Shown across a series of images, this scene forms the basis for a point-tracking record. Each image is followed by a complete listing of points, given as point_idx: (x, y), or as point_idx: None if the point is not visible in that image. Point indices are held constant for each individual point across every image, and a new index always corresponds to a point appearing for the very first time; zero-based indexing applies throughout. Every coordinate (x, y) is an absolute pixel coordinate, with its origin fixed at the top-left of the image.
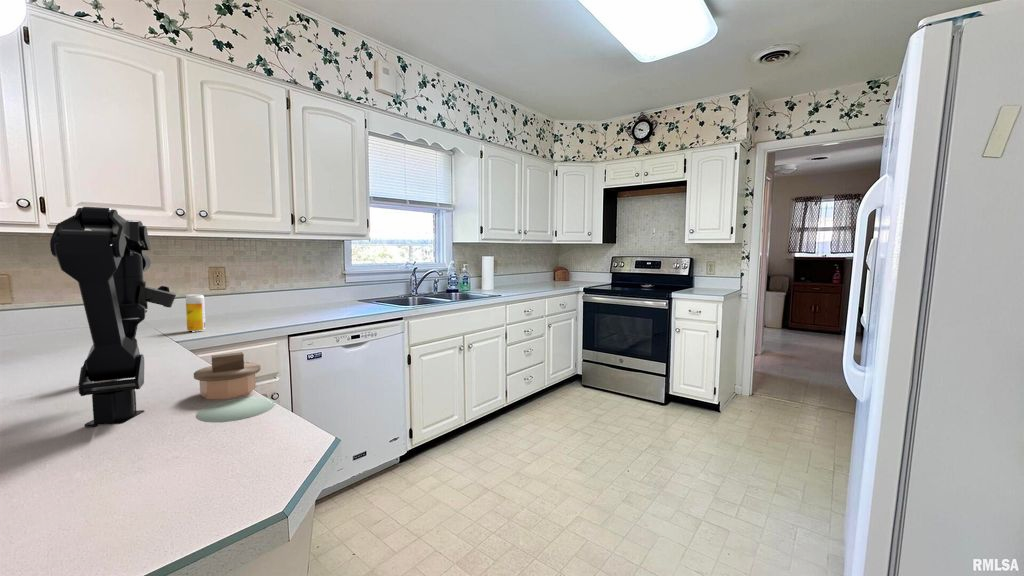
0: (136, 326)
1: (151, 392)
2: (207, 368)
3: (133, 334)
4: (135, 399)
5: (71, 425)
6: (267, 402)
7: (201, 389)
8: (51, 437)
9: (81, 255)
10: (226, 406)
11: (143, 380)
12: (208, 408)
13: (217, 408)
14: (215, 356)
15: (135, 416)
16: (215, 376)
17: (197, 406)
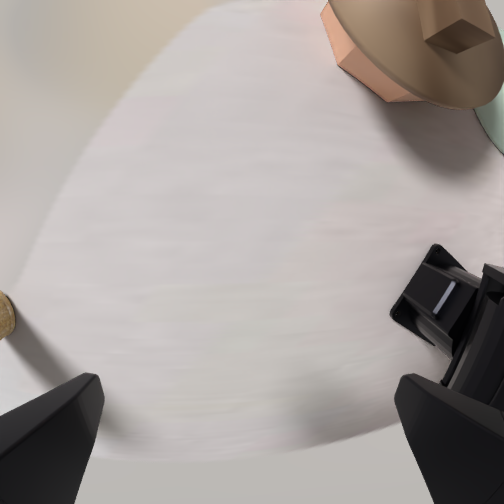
0: (29, 441)
1: (215, 220)
2: (383, 37)
3: (499, 415)
4: (441, 271)
5: (400, 366)
6: (501, 37)
7: (412, 95)
8: (438, 375)
9: None
10: (498, 95)
11: (494, 266)
12: (493, 125)
13: (501, 113)
14: (478, 19)
15: (457, 262)
16: (495, 72)
17: (454, 132)
